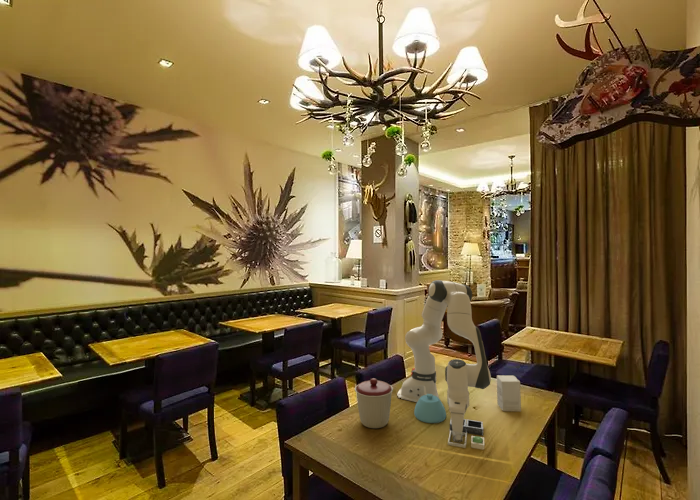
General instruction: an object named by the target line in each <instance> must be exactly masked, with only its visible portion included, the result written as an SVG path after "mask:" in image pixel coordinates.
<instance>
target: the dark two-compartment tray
mask: <svg viewBox="0 0 700 500" xmlns="http://www.w3.org/2000/svg"><path fill="white" fill-rule="evenodd" d="M450 430H451V431H452V422H451V419H450V421H449V431H450ZM462 432H463V433H467V434H468V435H469V434H470V435H474V436H475V435H476V436H481V437H484V422H483V421H479V420H473V419H466V418H464V421H463V431H462Z"/></svg>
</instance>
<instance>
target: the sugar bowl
mask: <svg viewBox="0 0 700 500" xmlns="http://www.w3.org/2000/svg"><path fill="white" fill-rule="evenodd" d="M413 415H414V417H415V418H416V419H417V420H418V421H420V422H423V423H427V424H439V423H442V422H444V420H445V419H446V417H447V411H446V408H445V405H444V404H443V402H442V401H441V399H440V397H439V398H438V397H437V396H434V395H432V394H427V395H423V396H421V397H420V399H419V400H418V402H416V403H415V406H414V410H413Z"/></svg>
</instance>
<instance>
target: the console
mask: <svg viewBox="0 0 700 500" xmlns="http://www.w3.org/2000/svg"><path fill="white" fill-rule="evenodd" d="M473 437H475V435H471V437H470V438H471V439H470V442H471V443H470V447H471V448H472V449H477V450H485V437H484V436H480V437H481V438H482V443H476V442H473Z"/></svg>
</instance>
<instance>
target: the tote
mask: <svg viewBox="0 0 700 500" xmlns="http://www.w3.org/2000/svg"><path fill="white" fill-rule="evenodd" d="M448 435H449V436H448V440H447V446H452V447H458V448H463V449H466V448H467V437H468V433H463V432H462V435H463V436H465V437H464V443H457V442H454V441H453V442H451V438H452V437H451V436H452V435H453V431H451V430H450V429H449V434H448Z"/></svg>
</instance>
